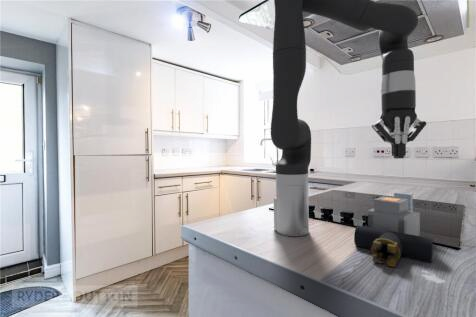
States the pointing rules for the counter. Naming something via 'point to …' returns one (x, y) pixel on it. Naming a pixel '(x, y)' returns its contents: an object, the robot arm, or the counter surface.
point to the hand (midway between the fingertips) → (398, 158)
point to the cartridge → (405, 196)
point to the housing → (394, 217)
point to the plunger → (390, 199)
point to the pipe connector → (393, 245)
